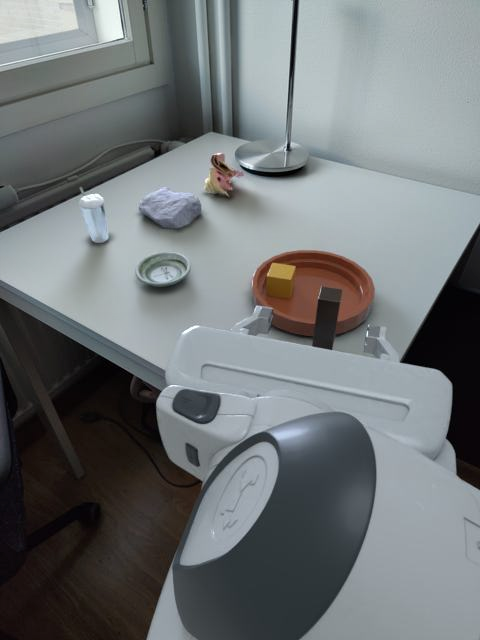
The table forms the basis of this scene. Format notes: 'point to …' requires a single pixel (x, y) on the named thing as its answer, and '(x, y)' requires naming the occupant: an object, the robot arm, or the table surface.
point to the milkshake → (94, 216)
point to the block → (280, 280)
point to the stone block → (170, 208)
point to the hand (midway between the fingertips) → (319, 321)
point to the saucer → (163, 269)
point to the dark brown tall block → (326, 317)
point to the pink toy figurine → (220, 175)
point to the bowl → (315, 290)
